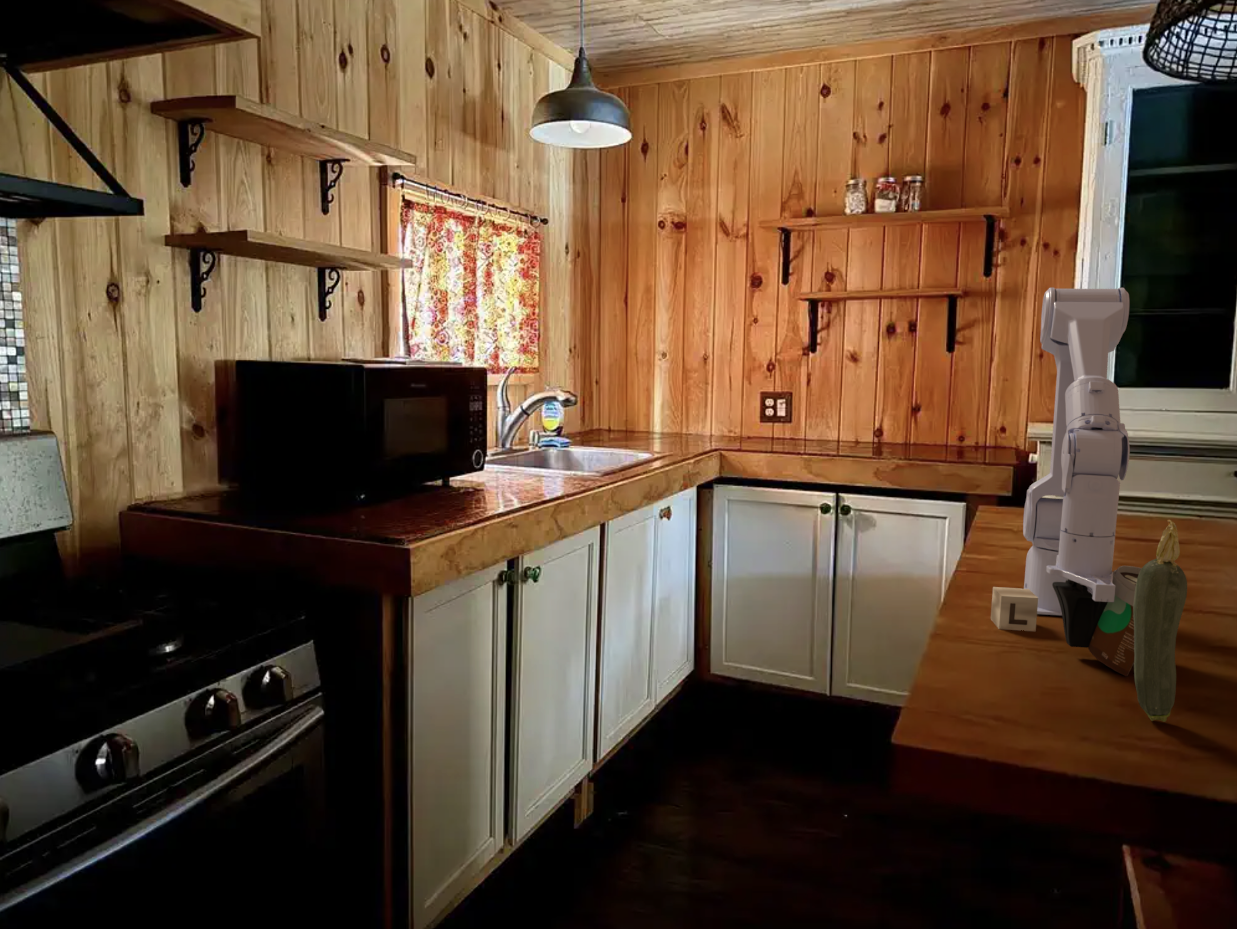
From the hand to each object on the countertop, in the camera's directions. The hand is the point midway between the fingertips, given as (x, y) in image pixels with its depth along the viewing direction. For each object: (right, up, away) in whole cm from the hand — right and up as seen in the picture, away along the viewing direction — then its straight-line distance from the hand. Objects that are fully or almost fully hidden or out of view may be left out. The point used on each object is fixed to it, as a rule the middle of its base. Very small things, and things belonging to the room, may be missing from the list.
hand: (1077, 645), depth 111 cm
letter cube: (-2, 0, +12) cm, 13 cm away
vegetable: (-2, -4, -19) cm, 19 cm away
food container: (+3, -1, -1) cm, 3 cm away
